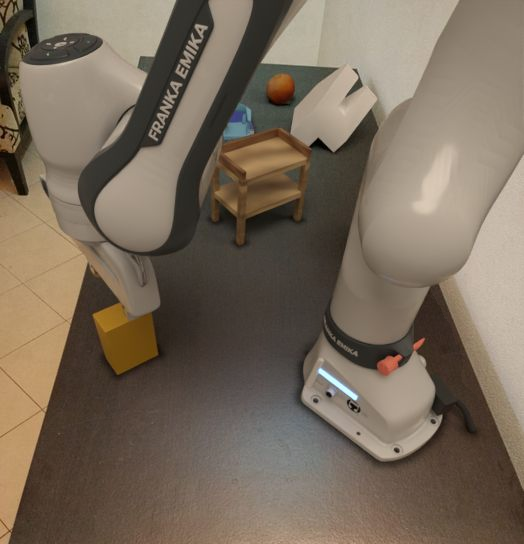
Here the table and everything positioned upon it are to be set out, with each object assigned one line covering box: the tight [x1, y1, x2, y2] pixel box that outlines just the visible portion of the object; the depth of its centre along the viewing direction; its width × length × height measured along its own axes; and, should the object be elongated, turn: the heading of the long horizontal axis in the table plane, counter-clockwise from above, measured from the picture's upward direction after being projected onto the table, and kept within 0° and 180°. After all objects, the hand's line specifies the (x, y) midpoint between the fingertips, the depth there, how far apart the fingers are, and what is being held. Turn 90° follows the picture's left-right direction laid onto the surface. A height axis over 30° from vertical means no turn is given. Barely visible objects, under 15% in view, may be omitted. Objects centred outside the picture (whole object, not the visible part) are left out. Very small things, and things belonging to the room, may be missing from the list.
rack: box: [210, 126, 313, 246], centre depth 92 cm, size 10×16×16 cm, turn 127°
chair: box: [223, 102, 252, 143], centre depth 107 cm, size 8×8×12 cm
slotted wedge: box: [289, 62, 378, 153], centre depth 116 cm, size 14×11×18 cm
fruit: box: [265, 73, 296, 106], centre depth 131 cm, size 8×8×8 cm
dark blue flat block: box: [229, 111, 255, 134], centre depth 122 cm, size 2×8×12 cm
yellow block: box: [92, 301, 159, 376], centre depth 69 cm, size 4×7×10 cm, turn 127°
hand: (115, 294), depth 63 cm, fingers open, 8 cm apart
